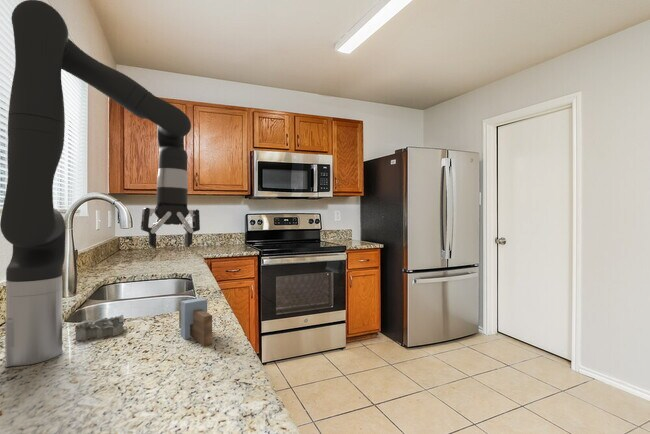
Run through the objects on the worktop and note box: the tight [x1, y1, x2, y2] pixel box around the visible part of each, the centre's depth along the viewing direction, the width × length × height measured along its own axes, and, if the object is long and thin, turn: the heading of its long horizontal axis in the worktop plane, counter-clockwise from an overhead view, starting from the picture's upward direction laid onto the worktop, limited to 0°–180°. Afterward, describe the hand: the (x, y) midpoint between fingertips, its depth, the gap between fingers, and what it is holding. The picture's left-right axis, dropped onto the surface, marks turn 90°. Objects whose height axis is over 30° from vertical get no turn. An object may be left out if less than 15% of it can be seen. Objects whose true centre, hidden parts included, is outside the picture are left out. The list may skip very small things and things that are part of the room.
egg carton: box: [74, 314, 125, 341], centre depth 88 cm, size 11×8×4 cm
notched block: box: [180, 297, 208, 340], centre depth 86 cm, size 6×3×9 cm, turn 131°
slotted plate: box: [178, 301, 213, 348], centre depth 86 cm, size 2×18×7 cm, turn 41°
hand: (171, 247), depth 90 cm, fingers open, 8 cm apart
